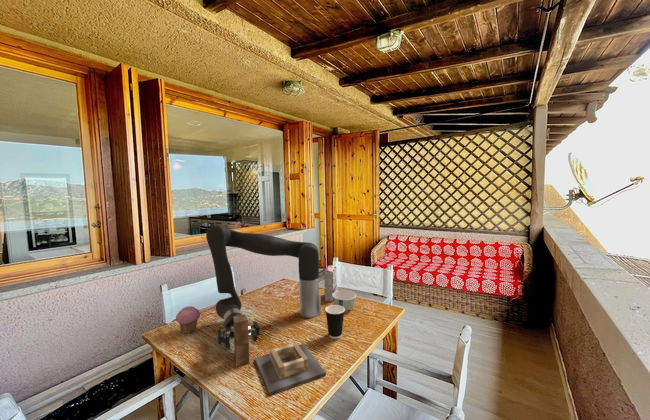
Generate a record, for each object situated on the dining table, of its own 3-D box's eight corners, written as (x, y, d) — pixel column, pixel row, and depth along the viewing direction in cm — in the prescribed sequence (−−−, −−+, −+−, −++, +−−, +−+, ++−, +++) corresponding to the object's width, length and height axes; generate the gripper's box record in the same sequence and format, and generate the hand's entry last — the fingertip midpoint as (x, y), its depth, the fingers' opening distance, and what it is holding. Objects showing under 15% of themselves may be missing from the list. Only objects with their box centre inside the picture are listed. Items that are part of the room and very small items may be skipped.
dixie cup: (325, 330, 112) (325, 304, 111) (344, 330, 111) (344, 304, 111) (325, 341, 104) (324, 313, 103) (345, 341, 104) (345, 313, 103)
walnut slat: (246, 355, 95) (245, 314, 94) (249, 363, 91) (248, 319, 90) (234, 358, 93) (233, 316, 92) (237, 366, 89) (235, 322, 88)
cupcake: (193, 323, 118) (192, 301, 118) (204, 329, 113) (203, 306, 113) (172, 332, 111) (171, 309, 110) (183, 339, 106) (182, 314, 105)
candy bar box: (328, 293, 152) (328, 265, 151) (337, 294, 151) (336, 265, 150) (324, 301, 141) (323, 270, 140) (333, 302, 140) (333, 271, 139)
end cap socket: (303, 346, 100) (303, 334, 100) (325, 375, 84) (325, 361, 84) (255, 360, 92) (254, 347, 92) (269, 395, 76) (269, 380, 76)
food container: (355, 313, 127) (355, 300, 127) (330, 311, 129) (330, 298, 129) (357, 303, 139) (357, 291, 138) (334, 301, 141) (334, 289, 140)
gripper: (214, 316, 101) (219, 336, 86) (252, 308, 107) (263, 326, 93) (215, 335, 101) (219, 359, 87) (253, 326, 108) (263, 347, 93)
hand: (242, 342), depth 90 cm, fingers open, 8 cm apart
